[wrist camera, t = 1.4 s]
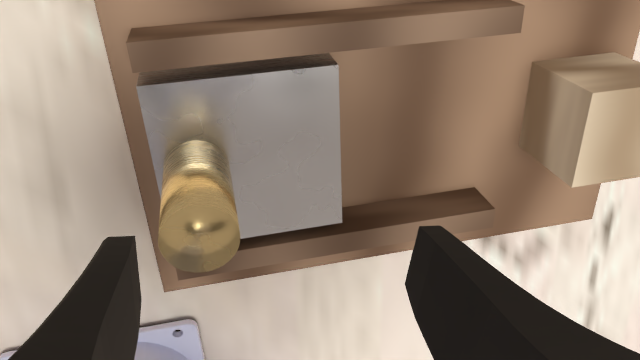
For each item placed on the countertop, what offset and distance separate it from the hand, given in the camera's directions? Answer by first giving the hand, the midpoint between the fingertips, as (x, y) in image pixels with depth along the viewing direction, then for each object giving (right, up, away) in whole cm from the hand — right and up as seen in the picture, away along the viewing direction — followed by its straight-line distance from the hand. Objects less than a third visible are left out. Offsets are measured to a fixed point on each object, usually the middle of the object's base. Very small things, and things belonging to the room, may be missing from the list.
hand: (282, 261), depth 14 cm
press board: (+4, +5, +11) cm, 12 cm away
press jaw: (-2, +3, +8) cm, 9 cm away
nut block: (+12, +6, +11) cm, 17 cm away
